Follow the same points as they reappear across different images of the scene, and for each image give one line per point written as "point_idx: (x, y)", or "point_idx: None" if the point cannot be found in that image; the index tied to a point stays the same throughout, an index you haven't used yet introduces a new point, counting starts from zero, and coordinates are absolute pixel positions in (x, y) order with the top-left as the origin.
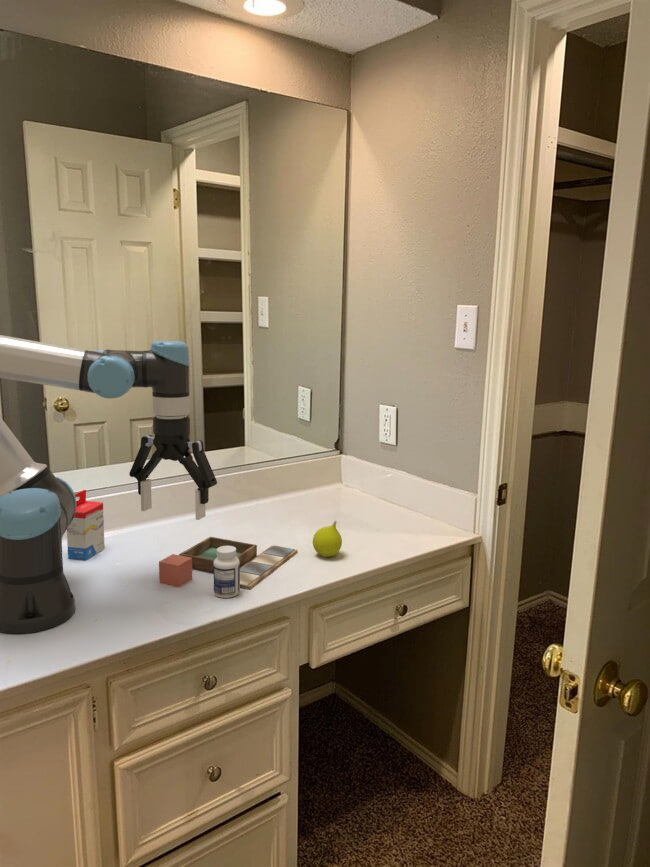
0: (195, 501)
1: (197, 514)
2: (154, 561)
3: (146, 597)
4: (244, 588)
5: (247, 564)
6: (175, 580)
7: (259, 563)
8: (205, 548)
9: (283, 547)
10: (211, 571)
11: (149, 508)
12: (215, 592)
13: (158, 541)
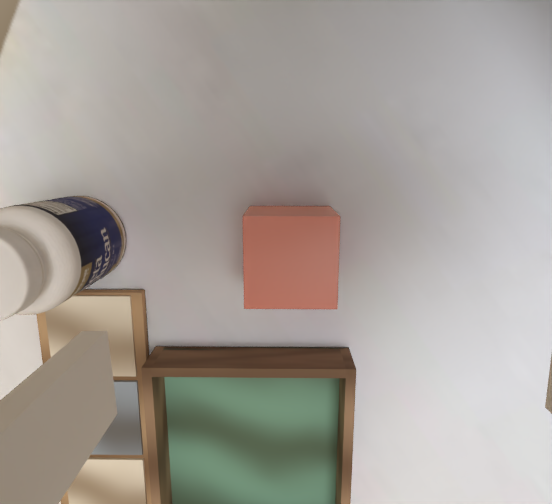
0: (27, 409)
1: (70, 347)
2: (452, 348)
3: (300, 90)
4: None
5: (139, 434)
6: (261, 208)
7: (113, 458)
8: (336, 486)
9: None
10: (220, 349)
11: (549, 384)
12: (97, 202)
13: (539, 493)
